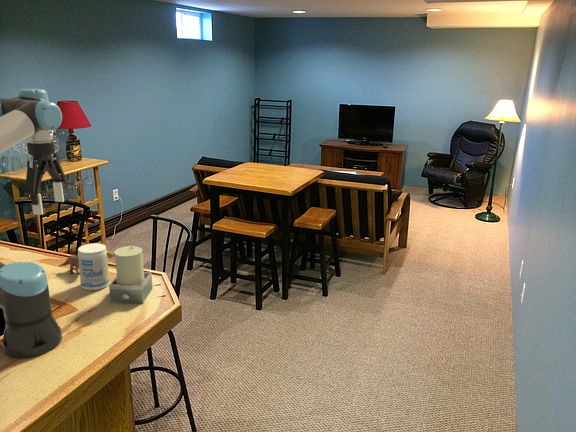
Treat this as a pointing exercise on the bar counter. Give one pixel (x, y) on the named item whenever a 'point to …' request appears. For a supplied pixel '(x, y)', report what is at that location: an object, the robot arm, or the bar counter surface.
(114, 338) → the bar counter surface
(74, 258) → the dinosaur figurine
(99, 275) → the supplement tub
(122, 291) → the grey open box
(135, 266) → the can
